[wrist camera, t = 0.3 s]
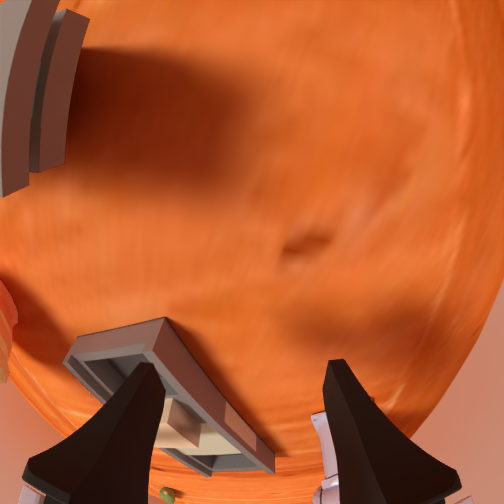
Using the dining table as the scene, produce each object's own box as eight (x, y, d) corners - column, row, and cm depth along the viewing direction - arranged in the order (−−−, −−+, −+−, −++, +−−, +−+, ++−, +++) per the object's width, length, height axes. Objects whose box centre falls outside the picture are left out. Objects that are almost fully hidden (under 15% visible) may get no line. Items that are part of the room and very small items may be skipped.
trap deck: (274, 452, 35) (275, 473, 32) (208, 458, 37) (206, 476, 34) (165, 316, 22) (152, 350, 18) (77, 336, 24) (61, 362, 20)
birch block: (201, 425, 25) (198, 448, 23) (158, 426, 26) (153, 447, 24) (172, 398, 23) (166, 423, 20) (127, 400, 24) (120, 422, 21)
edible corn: (176, 499, 50) (160, 500, 48) (177, 505, 59) (164, 505, 58) (173, 485, 54) (157, 485, 52) (175, 493, 63) (162, 493, 62)
